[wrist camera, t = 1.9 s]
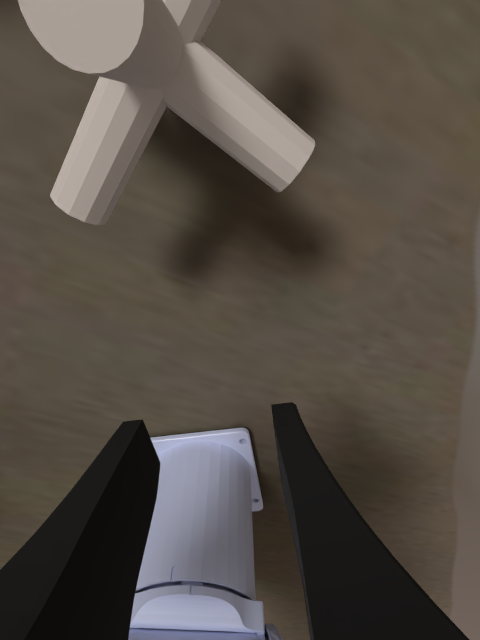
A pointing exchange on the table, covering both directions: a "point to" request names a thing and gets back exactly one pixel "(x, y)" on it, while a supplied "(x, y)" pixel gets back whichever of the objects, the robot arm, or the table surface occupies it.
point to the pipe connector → (154, 95)
